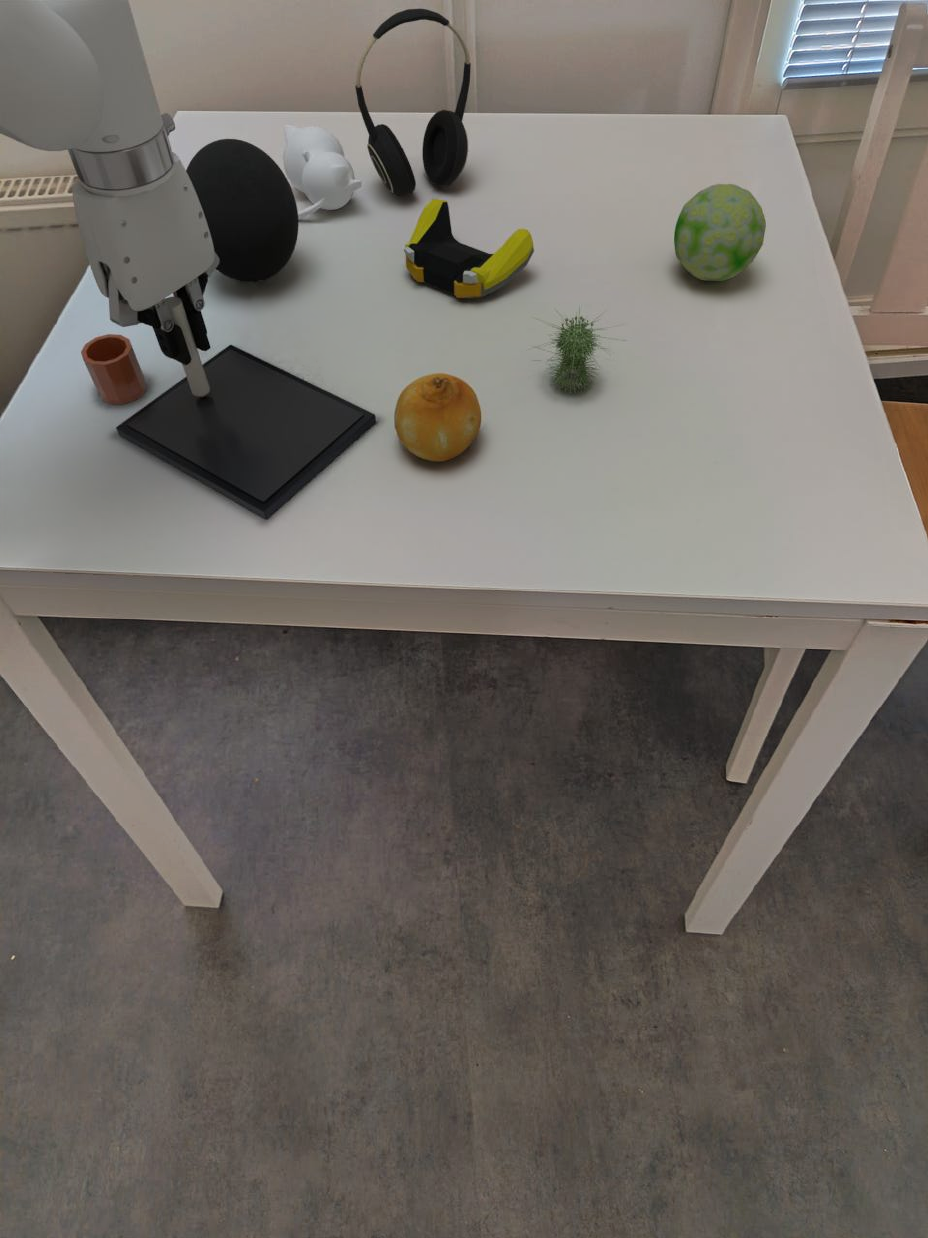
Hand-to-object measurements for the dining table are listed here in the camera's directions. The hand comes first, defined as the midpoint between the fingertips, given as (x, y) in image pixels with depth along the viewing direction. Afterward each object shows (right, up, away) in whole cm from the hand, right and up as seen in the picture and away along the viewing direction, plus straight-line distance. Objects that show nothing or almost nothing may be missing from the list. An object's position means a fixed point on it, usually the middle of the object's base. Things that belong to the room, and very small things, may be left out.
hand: (187, 350), depth 81 cm
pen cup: (-9, -2, +7) cm, 12 cm away
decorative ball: (+55, +14, +18) cm, 60 cm away
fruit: (+24, -9, +2) cm, 26 cm away
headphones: (+21, +31, +30) cm, 48 cm away
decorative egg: (+2, +15, +19) cm, 24 cm away
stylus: (0, -3, +4) cm, 5 cm away
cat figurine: (+8, +28, +29) cm, 41 cm away
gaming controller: (+26, +15, +19) cm, 36 cm away
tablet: (+5, -7, +3) cm, 9 cm away
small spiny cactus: (+38, -1, +7) cm, 38 cm away
